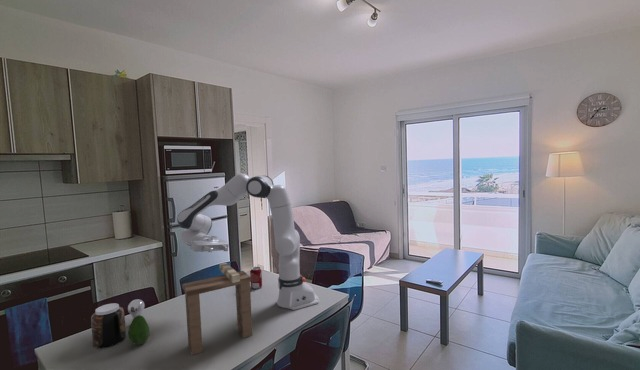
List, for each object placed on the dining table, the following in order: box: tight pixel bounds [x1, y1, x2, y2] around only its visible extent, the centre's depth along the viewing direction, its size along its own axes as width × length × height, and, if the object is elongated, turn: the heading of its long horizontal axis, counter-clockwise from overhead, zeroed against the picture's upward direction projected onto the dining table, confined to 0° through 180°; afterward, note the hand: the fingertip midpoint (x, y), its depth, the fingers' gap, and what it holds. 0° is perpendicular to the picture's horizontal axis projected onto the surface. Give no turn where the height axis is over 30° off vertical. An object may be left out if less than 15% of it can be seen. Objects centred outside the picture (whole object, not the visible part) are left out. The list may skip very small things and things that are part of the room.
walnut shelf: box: [182, 270, 253, 356], centre depth 134 cm, size 10×26×26 cm, turn 123°
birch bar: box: [218, 262, 240, 283], centre depth 139 cm, size 20×3×3 cm, turn 33°
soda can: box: [249, 266, 263, 290], centre depth 191 cm, size 7×7×12 cm
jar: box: [90, 302, 127, 349], centre depth 136 cm, size 12×12×15 cm
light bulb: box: [127, 298, 146, 320], centre depth 150 cm, size 7×7×12 cm
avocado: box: [127, 315, 151, 345], centre depth 134 cm, size 8×8×12 cm
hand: (219, 250), depth 156 cm, fingers open, 8 cm apart
